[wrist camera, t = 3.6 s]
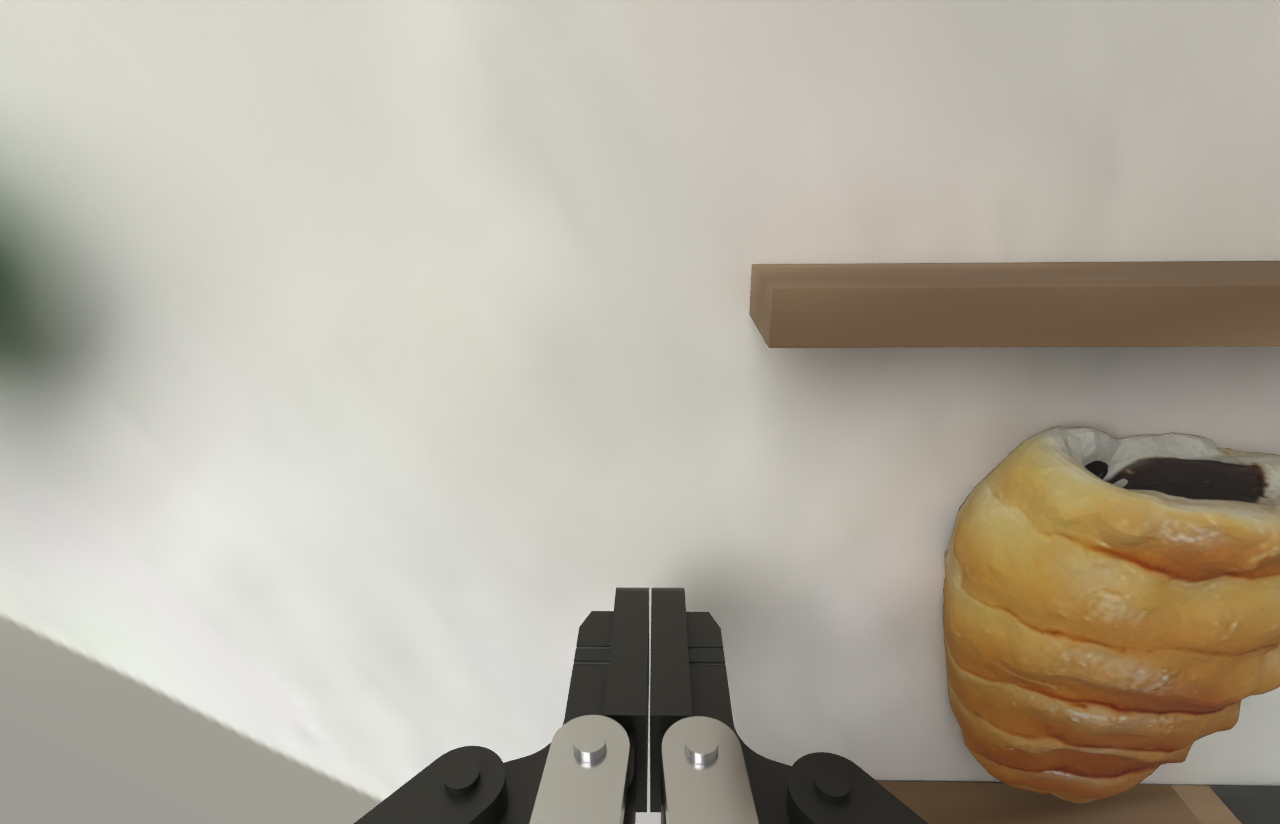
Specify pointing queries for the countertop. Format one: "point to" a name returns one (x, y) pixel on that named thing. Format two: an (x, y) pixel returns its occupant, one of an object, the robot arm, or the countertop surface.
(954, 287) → the lane
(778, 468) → the countertop surface
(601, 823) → the robot arm
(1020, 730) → the pastry
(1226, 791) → the mats
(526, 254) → the countertop surface
